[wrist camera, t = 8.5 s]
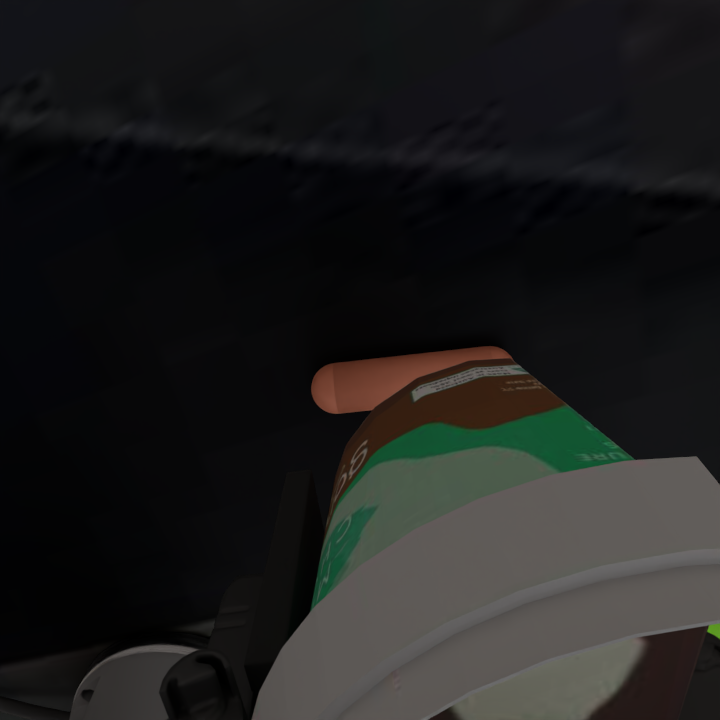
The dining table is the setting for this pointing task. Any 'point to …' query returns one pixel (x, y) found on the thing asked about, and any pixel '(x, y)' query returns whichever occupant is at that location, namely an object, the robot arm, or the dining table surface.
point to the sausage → (384, 377)
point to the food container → (501, 566)
